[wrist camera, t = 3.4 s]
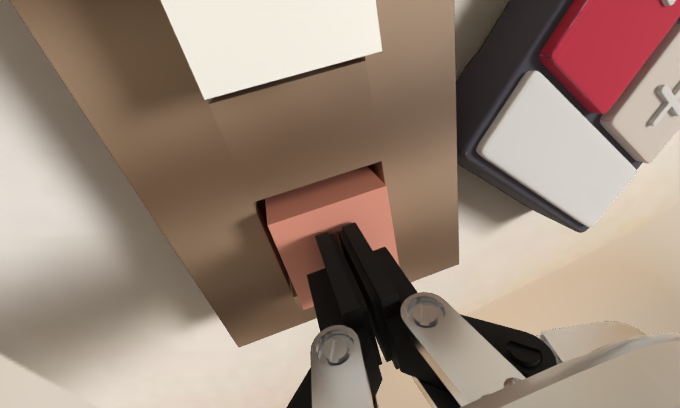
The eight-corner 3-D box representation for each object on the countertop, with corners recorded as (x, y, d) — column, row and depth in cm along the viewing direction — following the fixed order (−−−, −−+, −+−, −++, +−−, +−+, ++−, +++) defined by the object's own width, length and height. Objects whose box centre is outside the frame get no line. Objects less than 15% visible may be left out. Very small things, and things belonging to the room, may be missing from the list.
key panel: (-21, -150, 8) (-154, -247, 5) (393, -215, 9) (448, -317, 7) (240, 302, 17) (238, 347, 14) (429, 233, 18) (459, 263, 16)
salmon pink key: (263, 181, 14) (267, 225, 10) (354, 152, 14) (386, 185, 11) (292, 254, 16) (303, 309, 13) (369, 227, 16) (400, 273, 13)
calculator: (833, -38, 13) (597, 242, 16) (700, -14, 17) (532, 210, 20) (791, -319, 8) (472, 161, 12) (618, -197, 12) (416, 138, 15)
